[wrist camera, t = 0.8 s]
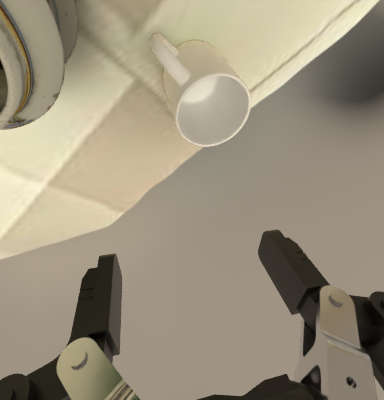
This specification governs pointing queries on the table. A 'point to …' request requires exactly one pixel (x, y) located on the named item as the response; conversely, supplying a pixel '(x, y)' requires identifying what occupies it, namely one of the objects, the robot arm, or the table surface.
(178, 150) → the table surface
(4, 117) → the apothecary jar
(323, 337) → the robot arm
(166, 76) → the mug
